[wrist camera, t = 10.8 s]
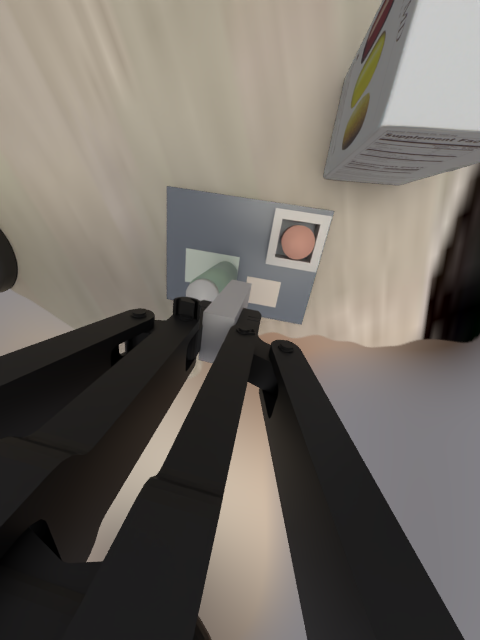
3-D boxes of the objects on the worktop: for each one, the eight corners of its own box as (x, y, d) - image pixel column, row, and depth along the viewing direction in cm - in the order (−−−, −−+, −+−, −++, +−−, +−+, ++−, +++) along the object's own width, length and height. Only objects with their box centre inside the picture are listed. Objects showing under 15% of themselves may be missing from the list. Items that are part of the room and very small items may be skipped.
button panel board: (168, 297, 37) (156, 306, 33) (168, 186, 30) (153, 181, 26) (301, 322, 35) (303, 334, 31) (333, 211, 28) (341, 209, 24)
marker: (213, 282, 34) (183, 309, 23) (216, 258, 32) (184, 275, 21) (236, 286, 33) (217, 316, 22) (240, 262, 32) (221, 282, 21)
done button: (278, 252, 29) (278, 256, 26) (284, 222, 28) (285, 222, 24) (305, 257, 29) (310, 261, 25) (313, 227, 27) (319, 228, 24)
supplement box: (343, 74, 23) (473, -210, 8) (438, 78, 22) (790, -235, 7) (321, 181, 27) (378, 128, 12) (400, 188, 26) (572, 140, 11)
